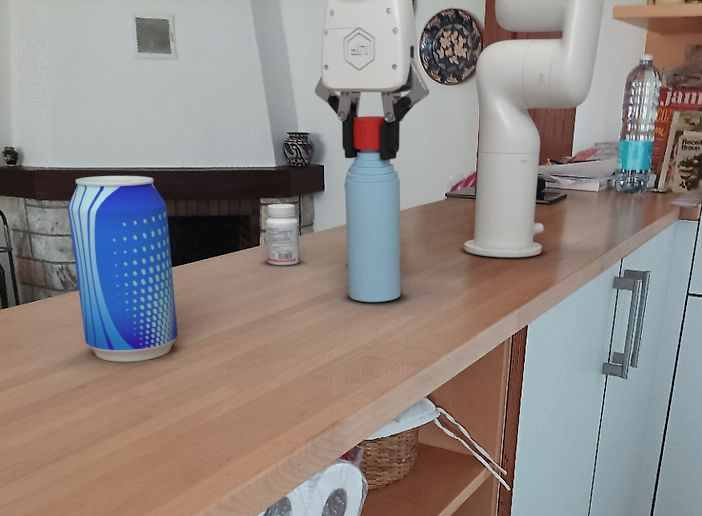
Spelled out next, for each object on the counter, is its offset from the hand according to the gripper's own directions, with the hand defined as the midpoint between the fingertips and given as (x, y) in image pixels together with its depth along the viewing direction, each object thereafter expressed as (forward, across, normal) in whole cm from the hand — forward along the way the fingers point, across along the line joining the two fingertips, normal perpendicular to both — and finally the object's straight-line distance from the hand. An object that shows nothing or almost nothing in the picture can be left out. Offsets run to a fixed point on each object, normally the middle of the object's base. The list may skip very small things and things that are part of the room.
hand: (370, 156), depth 90 cm
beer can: (+17, -11, -30) cm, 36 cm away
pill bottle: (+17, -22, +15) cm, 32 cm away
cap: (-1, 0, 0) cm, 1 cm away
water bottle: (+16, 0, +1) cm, 17 cm away
